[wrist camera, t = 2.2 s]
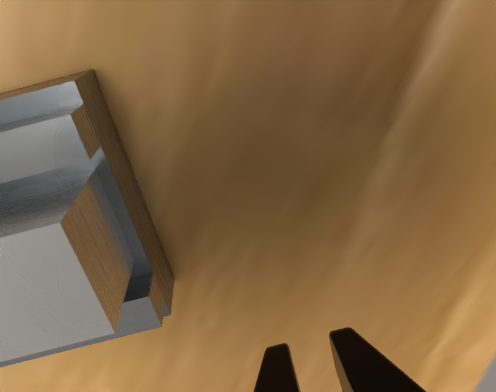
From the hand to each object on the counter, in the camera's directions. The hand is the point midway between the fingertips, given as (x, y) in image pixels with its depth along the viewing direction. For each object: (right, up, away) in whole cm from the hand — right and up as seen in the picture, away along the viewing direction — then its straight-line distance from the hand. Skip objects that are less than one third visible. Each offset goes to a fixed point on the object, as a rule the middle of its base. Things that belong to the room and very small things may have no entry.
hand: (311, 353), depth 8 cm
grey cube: (-8, +2, +8) cm, 11 cm away
